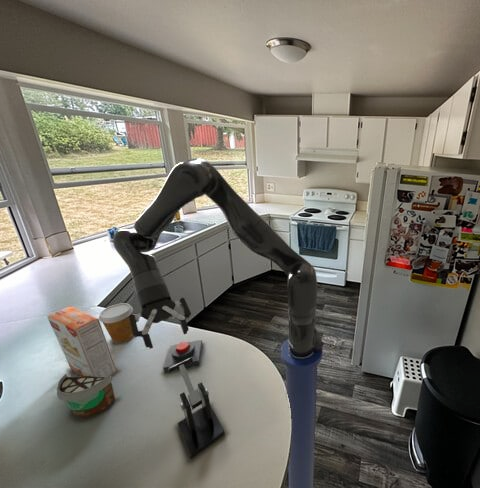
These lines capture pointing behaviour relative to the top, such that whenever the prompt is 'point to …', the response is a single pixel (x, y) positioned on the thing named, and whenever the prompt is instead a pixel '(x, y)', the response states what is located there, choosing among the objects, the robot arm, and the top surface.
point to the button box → (184, 355)
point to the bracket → (199, 424)
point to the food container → (86, 394)
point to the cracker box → (82, 342)
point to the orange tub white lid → (117, 322)
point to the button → (182, 347)
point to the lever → (188, 383)
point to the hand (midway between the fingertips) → (169, 340)
